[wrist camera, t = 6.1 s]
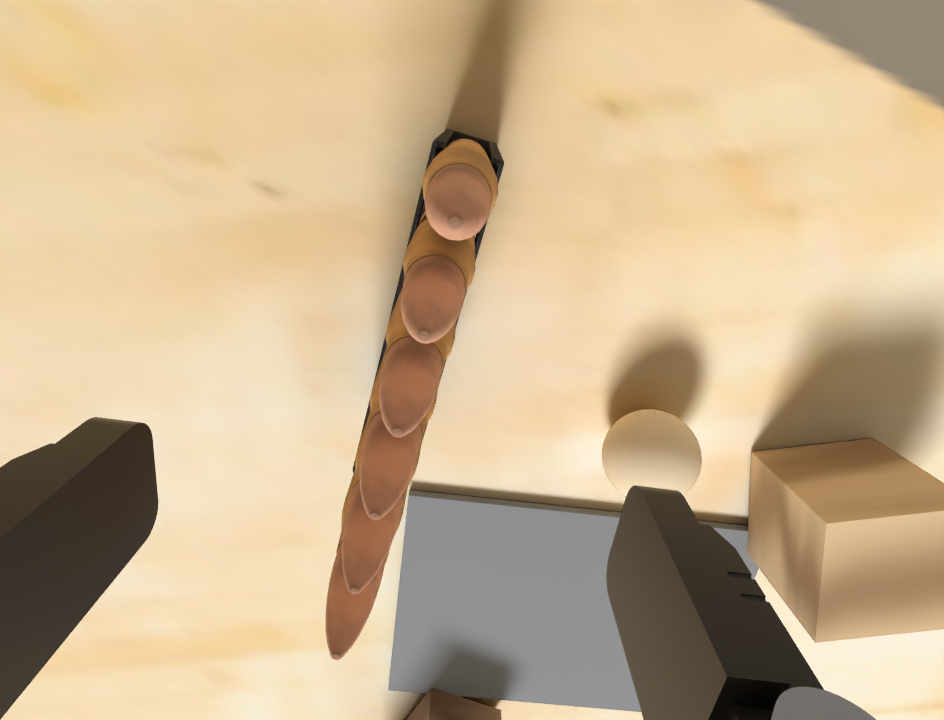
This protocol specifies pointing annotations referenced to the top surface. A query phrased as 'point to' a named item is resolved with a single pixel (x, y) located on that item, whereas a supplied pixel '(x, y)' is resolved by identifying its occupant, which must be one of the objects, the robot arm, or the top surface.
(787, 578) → the oak block
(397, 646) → the pad
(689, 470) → the cork ball
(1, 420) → the top surface
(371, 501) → the ammunition clip
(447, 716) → the walnut block
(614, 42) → the top surface
